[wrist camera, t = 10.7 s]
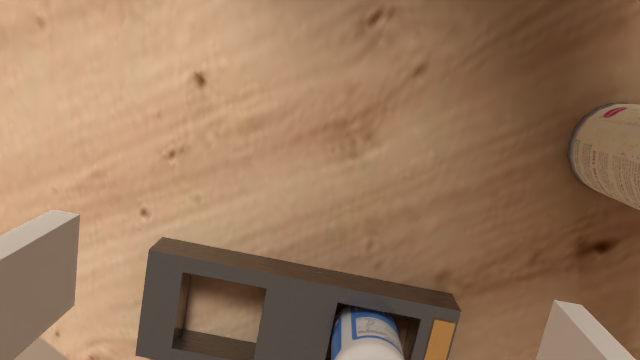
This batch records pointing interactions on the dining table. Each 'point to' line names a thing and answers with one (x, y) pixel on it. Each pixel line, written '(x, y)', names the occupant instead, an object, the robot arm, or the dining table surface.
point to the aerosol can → (609, 152)
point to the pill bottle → (365, 335)
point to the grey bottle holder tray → (279, 307)
